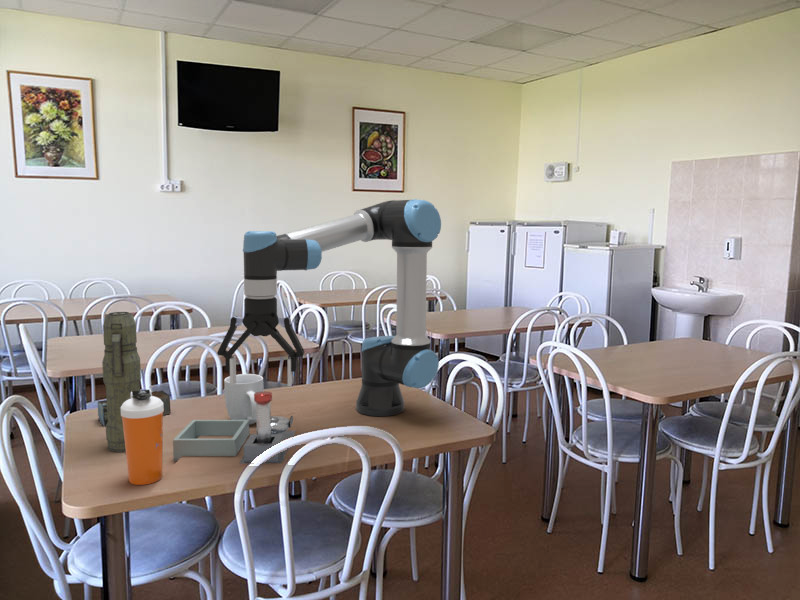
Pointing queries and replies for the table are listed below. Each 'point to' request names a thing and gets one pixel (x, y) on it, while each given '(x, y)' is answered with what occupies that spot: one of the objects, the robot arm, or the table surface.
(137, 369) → the thermos
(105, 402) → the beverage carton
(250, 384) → the mug
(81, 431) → the table surface
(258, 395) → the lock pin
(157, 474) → the shaker bottle
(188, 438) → the rectangular frame
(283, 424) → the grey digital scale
